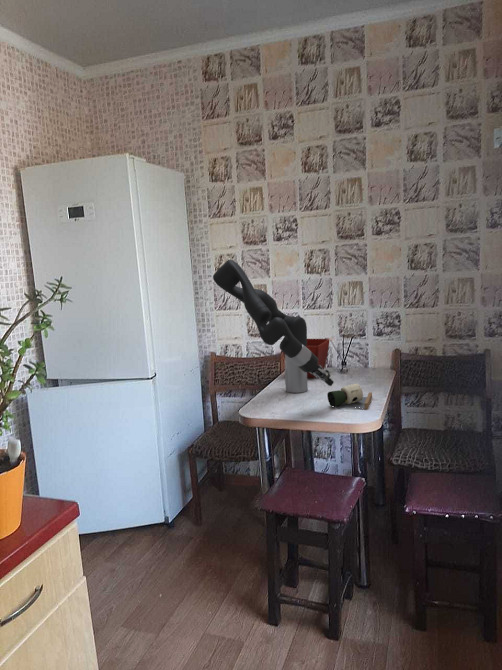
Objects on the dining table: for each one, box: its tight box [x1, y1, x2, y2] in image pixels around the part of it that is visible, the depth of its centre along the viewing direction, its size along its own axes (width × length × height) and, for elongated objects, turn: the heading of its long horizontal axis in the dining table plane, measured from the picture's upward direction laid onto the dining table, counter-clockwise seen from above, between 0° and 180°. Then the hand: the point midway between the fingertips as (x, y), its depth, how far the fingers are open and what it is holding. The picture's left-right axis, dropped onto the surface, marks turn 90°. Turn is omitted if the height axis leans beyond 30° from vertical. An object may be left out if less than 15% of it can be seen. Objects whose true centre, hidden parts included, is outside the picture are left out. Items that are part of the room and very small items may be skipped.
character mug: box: [326, 383, 364, 408], centre depth 212 cm, size 11×7×13 cm
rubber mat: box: [335, 391, 373, 410], centre depth 214 cm, size 12×16×2 cm
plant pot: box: [282, 338, 330, 379], centre depth 267 cm, size 19×19×17 cm
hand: (331, 383), depth 210 cm, fingers closed
